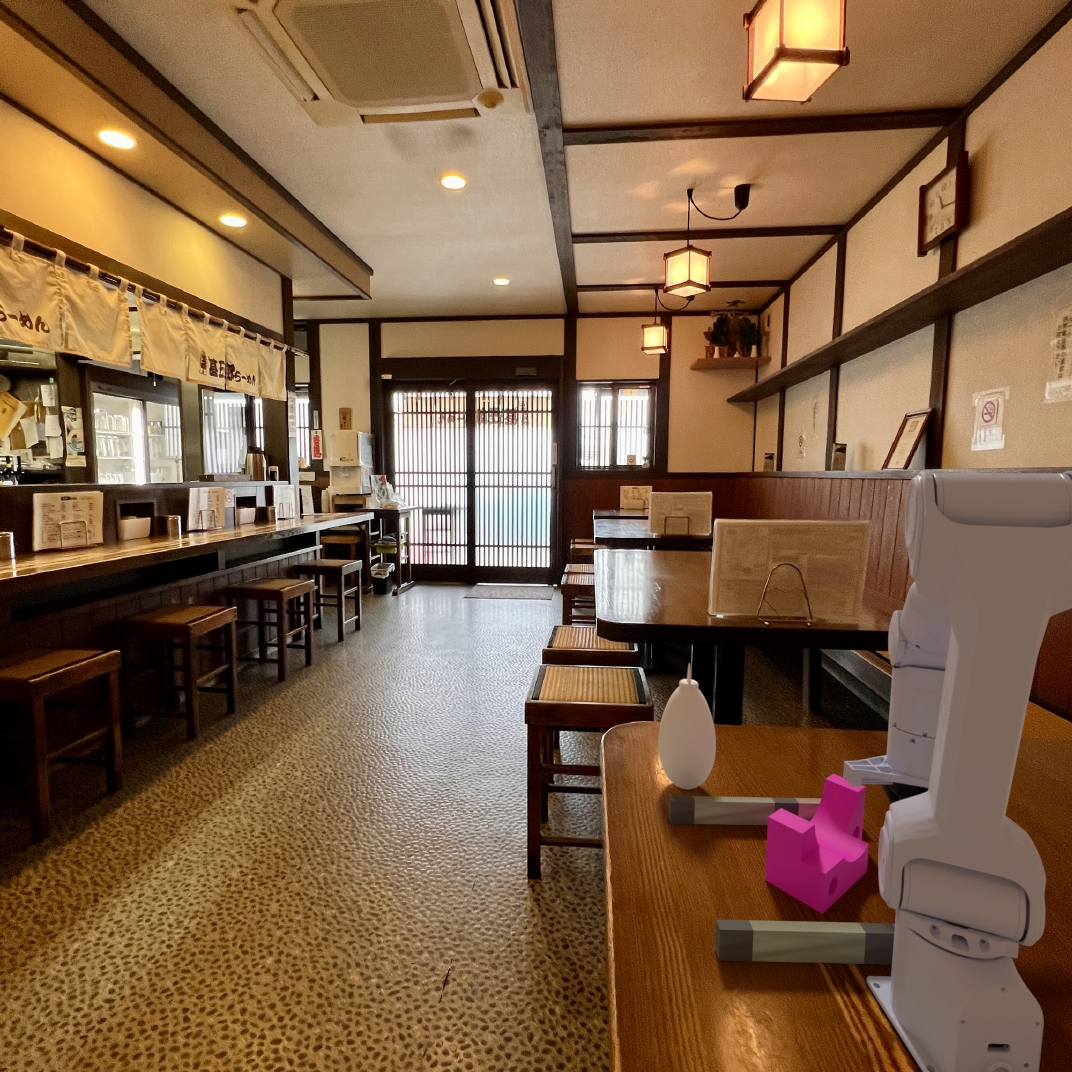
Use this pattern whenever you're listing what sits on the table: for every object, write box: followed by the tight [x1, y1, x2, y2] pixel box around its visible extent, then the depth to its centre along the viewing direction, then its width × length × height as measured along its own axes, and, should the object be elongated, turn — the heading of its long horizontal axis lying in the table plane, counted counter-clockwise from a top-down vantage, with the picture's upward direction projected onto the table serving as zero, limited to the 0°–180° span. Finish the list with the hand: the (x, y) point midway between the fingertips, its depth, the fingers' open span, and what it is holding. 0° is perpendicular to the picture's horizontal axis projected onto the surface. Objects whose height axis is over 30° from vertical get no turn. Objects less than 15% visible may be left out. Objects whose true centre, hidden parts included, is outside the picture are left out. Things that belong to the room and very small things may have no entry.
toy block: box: [764, 773, 870, 914], centre depth 65 cm, size 15×6×8 cm, turn 128°
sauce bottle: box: [657, 662, 717, 790], centre depth 82 cm, size 8×8×18 cm
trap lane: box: [667, 795, 895, 966], centre depth 63 cm, size 22×24×3 cm
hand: (911, 847), depth 63 cm, fingers closed
